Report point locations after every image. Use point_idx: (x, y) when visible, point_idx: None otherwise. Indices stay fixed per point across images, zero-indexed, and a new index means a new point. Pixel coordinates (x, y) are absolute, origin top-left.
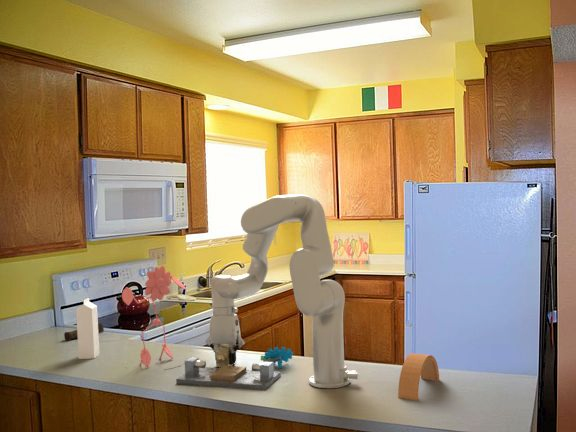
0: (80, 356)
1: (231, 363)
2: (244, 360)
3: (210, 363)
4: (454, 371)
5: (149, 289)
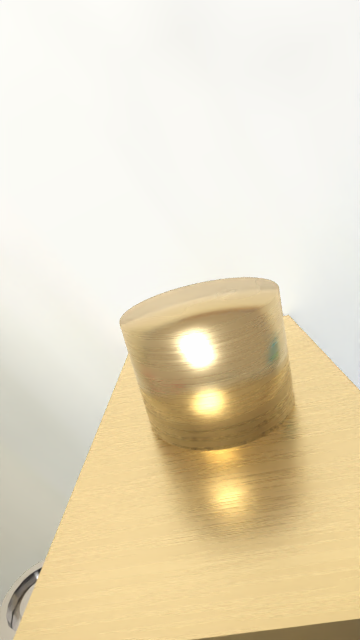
0: None
1: None
2: (332, 125)
3: (8, 419)
4: None
5: None
